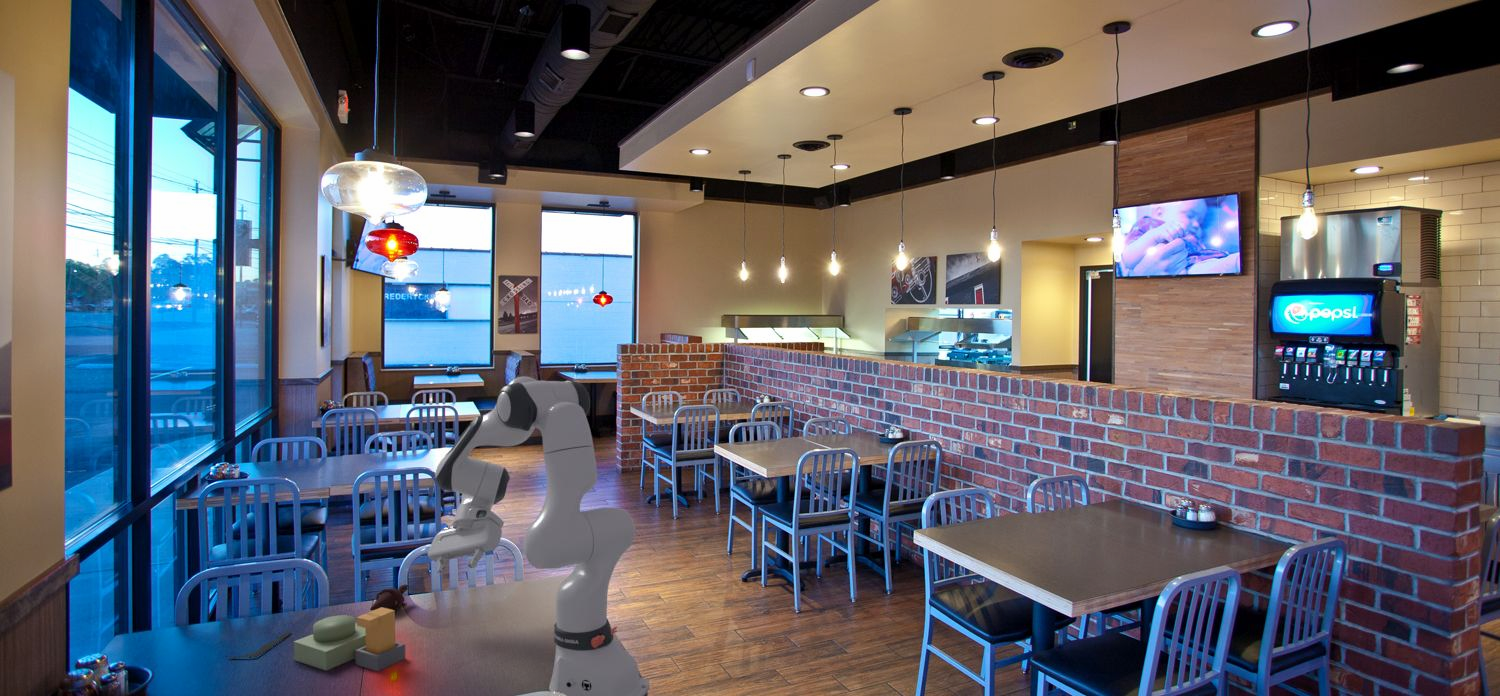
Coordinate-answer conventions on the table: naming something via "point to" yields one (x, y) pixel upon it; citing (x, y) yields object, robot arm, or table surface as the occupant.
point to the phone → (265, 646)
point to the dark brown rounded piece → (390, 598)
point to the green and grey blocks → (342, 646)
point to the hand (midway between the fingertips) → (456, 570)
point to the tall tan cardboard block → (378, 629)
